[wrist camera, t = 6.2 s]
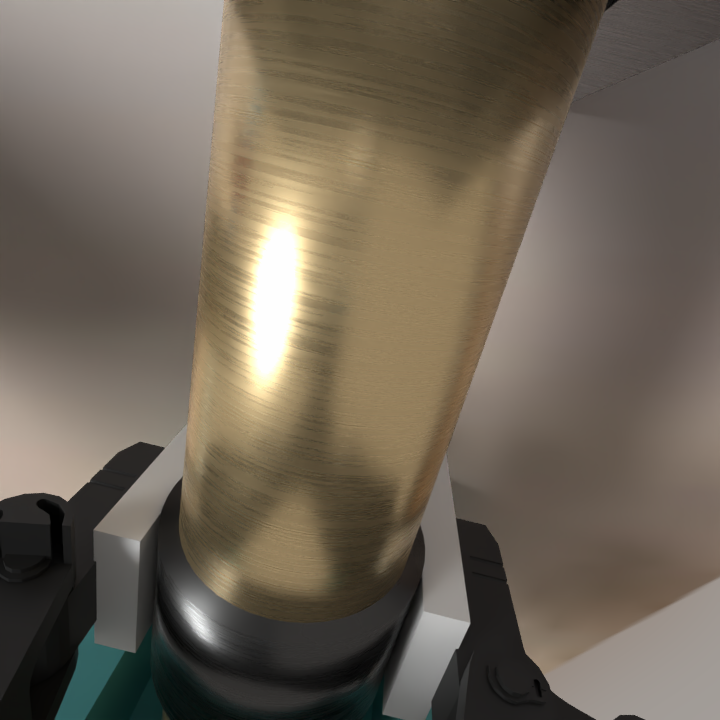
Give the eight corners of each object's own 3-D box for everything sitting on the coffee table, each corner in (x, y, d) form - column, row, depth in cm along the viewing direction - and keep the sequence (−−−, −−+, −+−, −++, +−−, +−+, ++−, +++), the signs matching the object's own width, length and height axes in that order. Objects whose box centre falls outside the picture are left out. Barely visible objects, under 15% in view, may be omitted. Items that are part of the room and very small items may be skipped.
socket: (231, 422, 18) (-107, 904, 6) (427, 470, 18) (465, 1048, 6) (221, 500, 20) (-66, 1007, 8) (401, 545, 20) (393, 1121, 8)
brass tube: (301, -235, 6) (69, -1135, 2) (633, -153, 6) (1133, -874, 2) (196, 629, 13) (94, 851, 9) (354, 668, 13) (329, 908, 9)
